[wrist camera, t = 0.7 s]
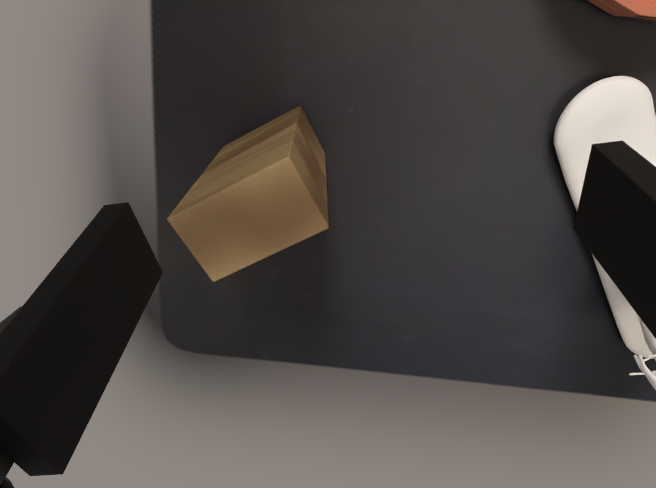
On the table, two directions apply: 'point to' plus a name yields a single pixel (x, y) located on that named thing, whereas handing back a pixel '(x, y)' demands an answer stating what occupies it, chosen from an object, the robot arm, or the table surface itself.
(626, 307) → the figurine
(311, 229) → the wooden block
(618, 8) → the bowl
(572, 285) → the table surface
